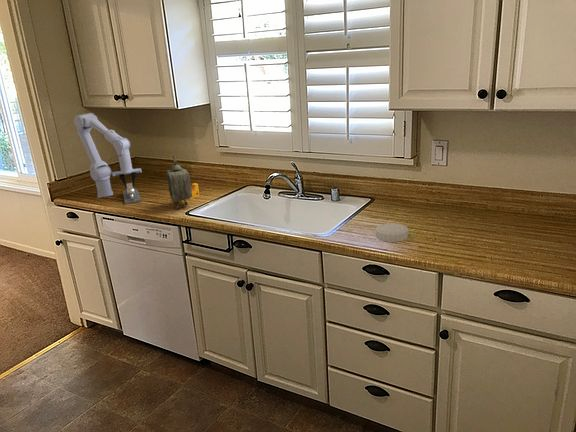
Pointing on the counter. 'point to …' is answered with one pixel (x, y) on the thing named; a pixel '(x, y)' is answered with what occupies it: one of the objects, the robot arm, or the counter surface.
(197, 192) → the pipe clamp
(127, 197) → the grey metal plate
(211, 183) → the counter surface
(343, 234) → the counter surface
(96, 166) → the robot arm
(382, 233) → the mooncake
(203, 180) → the counter surface
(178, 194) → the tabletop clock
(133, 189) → the ball knob lever
